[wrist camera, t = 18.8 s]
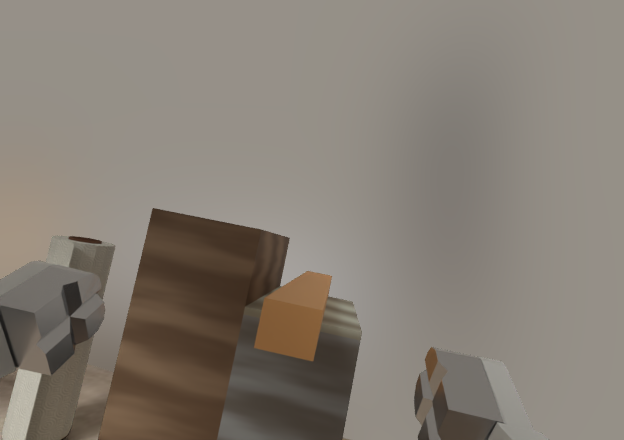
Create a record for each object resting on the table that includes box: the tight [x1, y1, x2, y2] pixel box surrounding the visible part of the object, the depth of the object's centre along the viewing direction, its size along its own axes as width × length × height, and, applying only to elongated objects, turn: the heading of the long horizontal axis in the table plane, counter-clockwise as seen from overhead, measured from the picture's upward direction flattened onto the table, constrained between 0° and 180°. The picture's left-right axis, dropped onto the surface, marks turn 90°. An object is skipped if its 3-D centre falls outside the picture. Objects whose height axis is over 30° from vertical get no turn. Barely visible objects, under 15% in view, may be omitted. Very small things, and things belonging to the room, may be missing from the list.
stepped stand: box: [98, 208, 362, 440], centre depth 34 cm, size 16×18×26 cm
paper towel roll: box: [2, 236, 115, 440], centre depth 38 cm, size 7×6×21 cm
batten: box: [254, 271, 332, 361], centre depth 30 cm, size 25×3×2 cm, turn 175°
